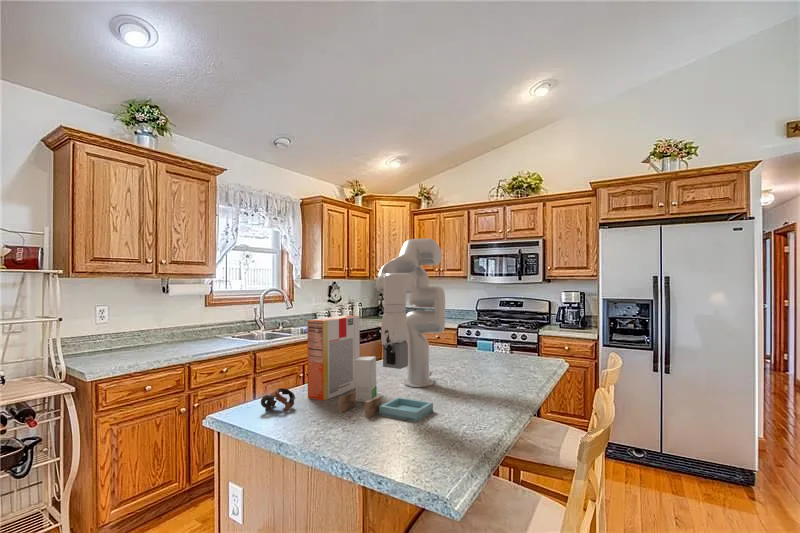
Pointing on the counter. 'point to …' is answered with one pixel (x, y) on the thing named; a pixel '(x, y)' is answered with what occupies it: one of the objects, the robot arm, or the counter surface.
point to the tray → (406, 409)
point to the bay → (350, 401)
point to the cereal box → (332, 355)
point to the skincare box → (365, 378)
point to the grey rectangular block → (398, 356)
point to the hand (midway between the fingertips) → (395, 362)
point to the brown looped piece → (279, 397)
